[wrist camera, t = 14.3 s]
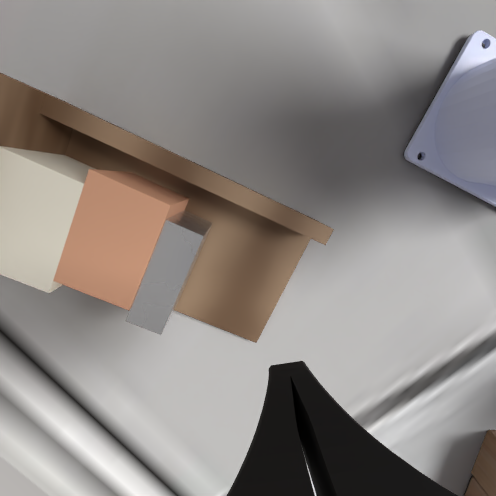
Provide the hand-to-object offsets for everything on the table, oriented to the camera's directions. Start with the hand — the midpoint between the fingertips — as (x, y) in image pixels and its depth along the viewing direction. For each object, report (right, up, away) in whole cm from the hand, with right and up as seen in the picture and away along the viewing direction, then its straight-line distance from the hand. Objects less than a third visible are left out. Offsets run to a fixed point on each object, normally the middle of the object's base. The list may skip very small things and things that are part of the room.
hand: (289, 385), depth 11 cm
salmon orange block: (-9, +7, +8) cm, 13 cm away
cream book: (-12, +8, +7) cm, 16 cm away
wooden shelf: (-7, +6, +8) cm, 13 cm away
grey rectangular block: (-6, +5, +8) cm, 11 cm away
